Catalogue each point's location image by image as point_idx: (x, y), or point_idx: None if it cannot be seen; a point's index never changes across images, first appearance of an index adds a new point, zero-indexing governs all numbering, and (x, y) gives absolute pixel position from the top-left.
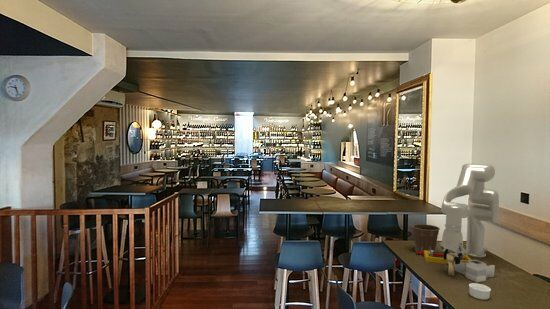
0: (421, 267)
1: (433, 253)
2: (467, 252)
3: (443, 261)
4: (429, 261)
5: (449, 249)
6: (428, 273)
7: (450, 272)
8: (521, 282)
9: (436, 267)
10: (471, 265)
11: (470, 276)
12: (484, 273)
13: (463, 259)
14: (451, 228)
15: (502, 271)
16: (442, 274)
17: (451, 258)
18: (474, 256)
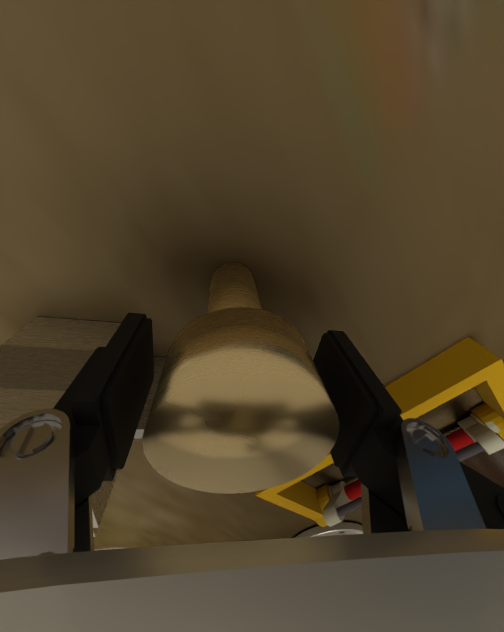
0: (472, 192)
1: (465, 441)
2: (347, 534)
3: None
4: (449, 352)
5: (238, 571)
6: (366, 89)
7: (224, 272)
8: None
9: (375, 309)
10: (10, 419)
11: (86, 336)
12: None
13: (323, 490)
14: None
15: (157, 511)
16: (269, 216)
17: (195, 346)
18: (314, 528)
